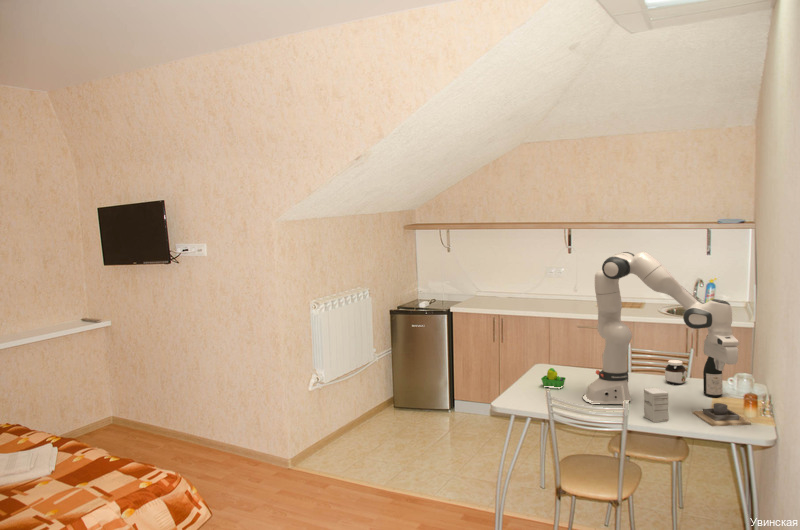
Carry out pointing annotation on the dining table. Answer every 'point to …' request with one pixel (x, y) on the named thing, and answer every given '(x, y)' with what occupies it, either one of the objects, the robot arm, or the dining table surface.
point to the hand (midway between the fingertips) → (719, 369)
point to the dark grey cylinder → (720, 409)
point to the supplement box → (656, 405)
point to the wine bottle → (712, 379)
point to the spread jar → (675, 372)
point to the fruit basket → (553, 379)
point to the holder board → (720, 418)
